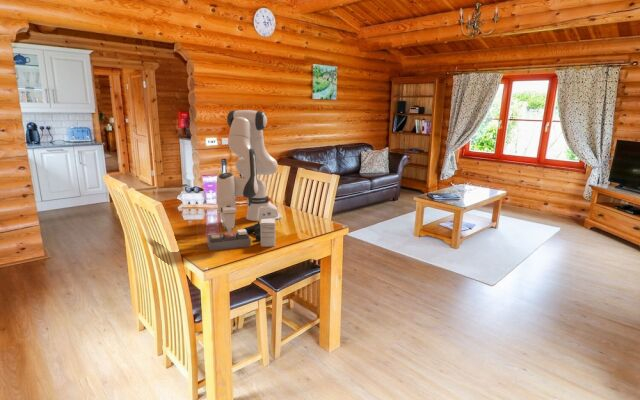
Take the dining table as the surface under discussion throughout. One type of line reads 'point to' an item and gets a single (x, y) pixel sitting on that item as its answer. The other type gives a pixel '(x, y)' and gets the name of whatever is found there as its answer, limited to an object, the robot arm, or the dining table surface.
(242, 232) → the button
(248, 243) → the button box
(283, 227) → the dining table surface
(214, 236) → the button
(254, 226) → the gaming controller
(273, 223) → the supplement box
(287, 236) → the dining table surface
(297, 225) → the dining table surface
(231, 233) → the red button
